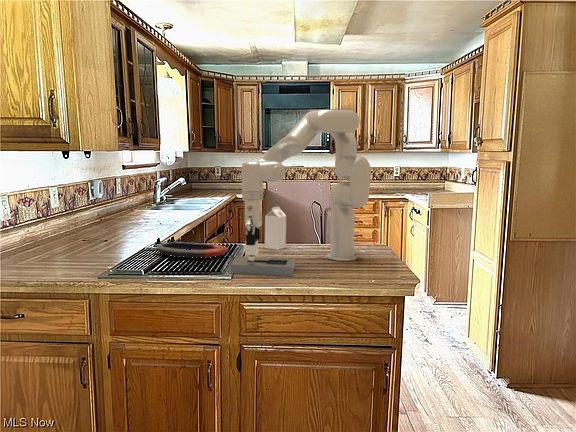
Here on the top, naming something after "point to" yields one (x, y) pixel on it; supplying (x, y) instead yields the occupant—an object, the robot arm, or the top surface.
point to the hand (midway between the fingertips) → (253, 242)
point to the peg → (251, 251)
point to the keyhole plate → (263, 266)
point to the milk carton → (275, 229)
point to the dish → (197, 249)
